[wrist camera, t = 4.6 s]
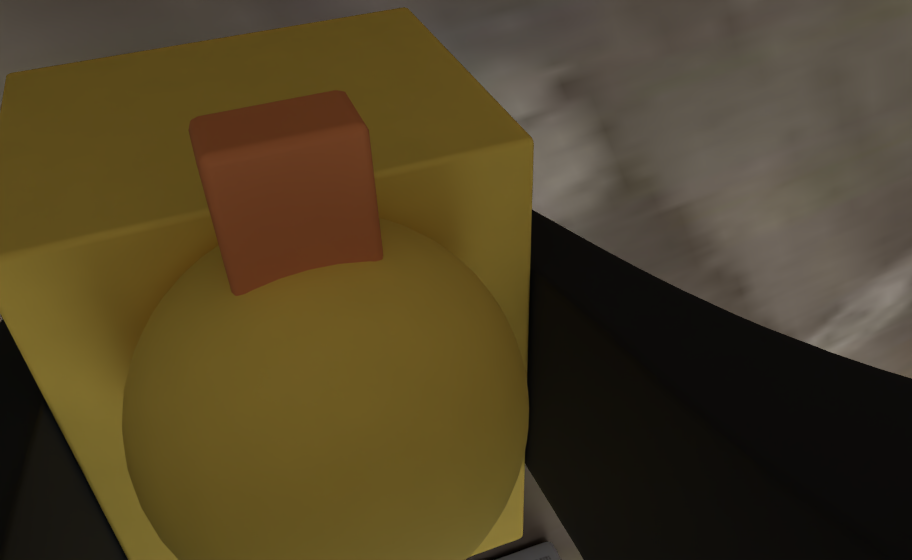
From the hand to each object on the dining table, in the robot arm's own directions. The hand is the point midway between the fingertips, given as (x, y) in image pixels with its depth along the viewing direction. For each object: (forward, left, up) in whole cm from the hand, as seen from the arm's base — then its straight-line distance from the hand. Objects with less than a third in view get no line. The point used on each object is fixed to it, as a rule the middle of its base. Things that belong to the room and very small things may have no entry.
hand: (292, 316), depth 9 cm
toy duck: (0, 0, -1) cm, 1 cm away
